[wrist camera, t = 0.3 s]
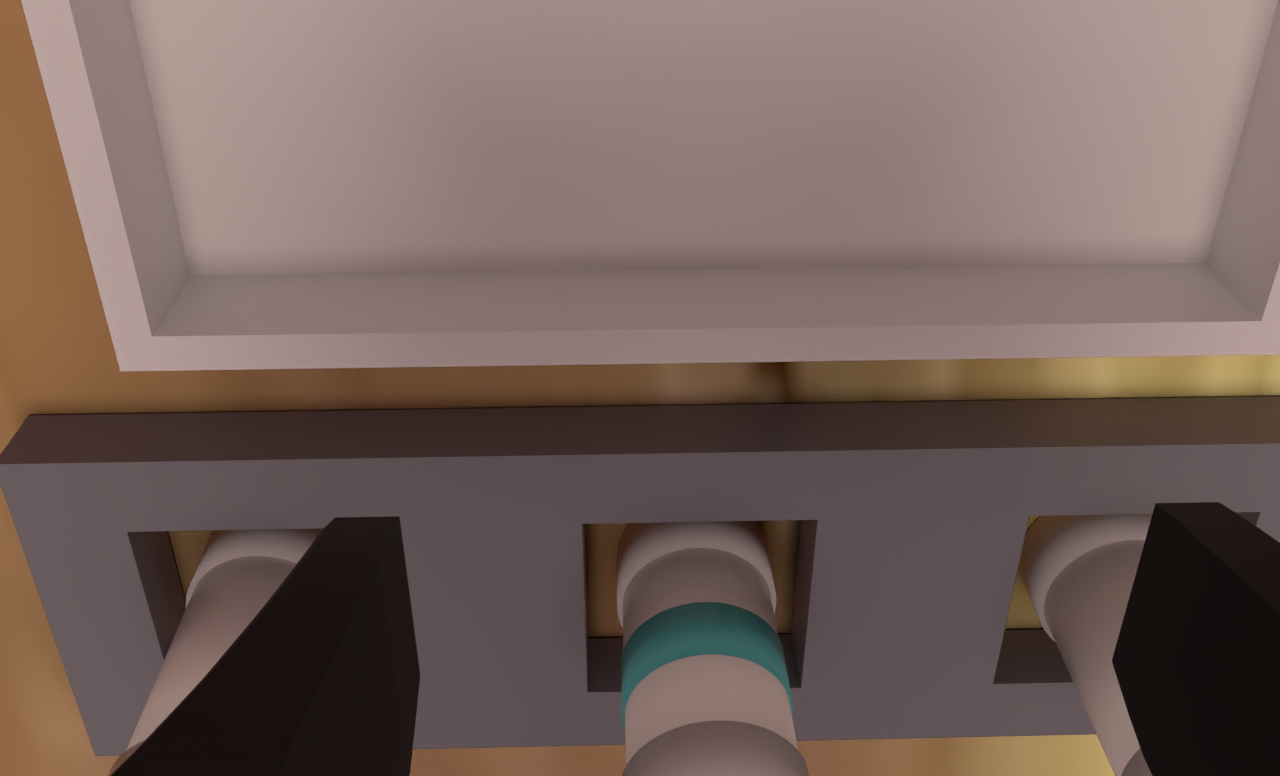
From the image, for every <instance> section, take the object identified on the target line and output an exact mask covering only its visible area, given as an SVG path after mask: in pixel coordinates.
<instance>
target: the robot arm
mask: <svg viewBox="0 0 1280 776" xmlns="http://www.w3.org/2000/svg"><path fill="white" fill-rule="evenodd" d="M1112 663H1113V667H1114V670H1115V673H1116V676H1117V679H1118V683H1119V686H1120V689H1121V692H1122V695H1123V698H1124V702H1125V705H1126V708H1127V711H1128V714H1129V717H1130V720H1131V723H1132V726H1133V728H1134V731H1135V734H1136V737H1137V740H1138V743H1139V745H1140V748H1141V751H1142V754H1143V757H1144V759H1145V761H1146V763H1147V765H1148V767H1149V769H1150V772H1151V774H1152V776H1280V543H1279V542H1278V541H1276V540H1275V539H1274V538H1272V537H1271V536H1269V535H1268V534H1267V533H1265V532H1264V531H1262V530H1261V529H1259V528H1258V527H1256V526H1255V525H1253V524H1252V523H1250V522H1249V521H1247V520H1246V519H1244V518H1243V517H1242V516H1240V515H1238V514H1237V513H1235V512H1234V511H1232V510H1231V509H1229V508H1227V507H1226V506H1224V505H1223V504H1221V503H1219V502H1197V503H1155V507H1154V510H1153V514H1152V518H1151V521H1150V525H1149V528H1148V532H1147V536H1146V539H1145V543H1144V546H1143V550H1142V554H1141V557H1140V561H1139V564H1138V568H1137V572H1136V575H1135V579H1134V582H1133V586H1132V590H1131V593H1130V597H1129V600H1128V604H1127V608H1126V611H1125V615H1124V618H1123V622H1122V626H1121V629H1120V633H1119V636H1118V640H1117V644H1116V647H1115V651H1114V654H1113V658H1112ZM419 683H420V669H419V661H418V653H417V646H416V638H415V631H414V623H413V615H412V608H411V600H410V593H409V585H408V577H407V570H406V562H405V554H404V547H403V539H402V532H401V524H400V516H392V517H335V518H334V519H333V520H332V521H331V522H330V523H329V524H327V525H326V526H325V527H324V529H323V530H322V531H321V533H320V534H319V535H318V537H317V538H316V539H315V541H314V542H313V543H312V544H311V546H310V547H309V548H308V550H307V551H306V552H305V554H304V555H303V556H302V558H301V559H300V560H299V562H298V563H297V564H296V566H295V567H294V568H293V570H292V571H291V572H290V573H289V575H288V576H287V577H286V579H285V580H284V581H283V582H282V584H281V585H280V586H279V588H278V589H277V590H276V591H275V593H274V594H273V595H272V596H271V598H270V599H269V600H268V601H267V603H266V604H265V605H264V606H263V608H262V609H261V610H260V611H259V613H258V614H257V615H256V616H255V618H254V619H253V620H252V621H251V622H250V624H249V625H248V626H247V627H246V628H245V630H244V631H243V632H242V633H241V634H240V635H239V637H238V638H237V639H236V640H235V641H234V643H233V644H232V645H231V646H230V647H229V648H228V650H227V651H226V652H225V653H224V654H223V656H222V657H221V658H220V659H219V660H218V662H217V663H216V664H215V665H214V666H213V667H212V669H211V670H210V671H209V672H208V673H207V674H206V675H205V677H204V678H203V679H202V680H201V681H200V682H199V683H198V685H197V686H196V687H195V688H194V689H193V690H192V691H191V692H190V693H189V694H188V695H187V696H186V697H185V698H184V700H183V701H182V702H181V703H180V704H179V705H178V706H177V707H176V708H175V709H174V710H173V711H172V712H171V713H170V714H169V716H168V717H167V718H166V719H165V720H164V721H163V722H162V723H161V724H160V725H159V726H158V727H157V728H156V729H155V730H154V732H153V733H152V734H151V735H150V736H149V737H148V738H147V739H146V740H145V741H144V742H143V743H142V744H141V745H140V746H139V747H138V748H137V749H136V750H135V751H134V752H133V753H132V755H131V756H129V757H128V758H127V759H126V760H125V761H124V762H123V763H122V764H121V765H120V766H119V767H118V768H117V769H116V770H115V771H114V772H113V773H112V774H111V775H110V776H409V774H410V766H411V757H412V749H413V740H414V732H415V722H416V713H417V703H418V693H419Z"/></svg>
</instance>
